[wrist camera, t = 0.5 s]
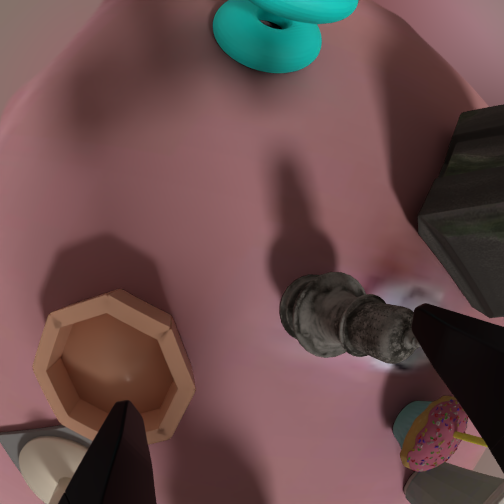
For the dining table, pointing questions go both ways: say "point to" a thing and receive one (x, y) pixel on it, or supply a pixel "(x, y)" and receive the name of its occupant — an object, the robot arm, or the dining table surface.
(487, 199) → the bottle
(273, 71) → the donuts
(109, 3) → the dining table surface
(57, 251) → the dining table surface
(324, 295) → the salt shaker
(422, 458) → the cupcake
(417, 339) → the robot arm
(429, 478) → the disposable coffee cup
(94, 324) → the bowl
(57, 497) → the lid
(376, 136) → the dining table surface
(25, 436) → the mat
